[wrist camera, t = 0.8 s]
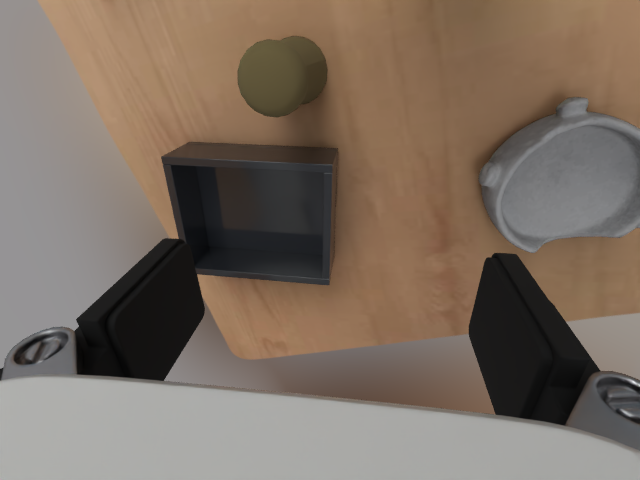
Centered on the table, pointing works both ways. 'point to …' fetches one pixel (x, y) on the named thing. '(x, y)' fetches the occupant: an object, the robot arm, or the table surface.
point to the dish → (565, 178)
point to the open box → (256, 209)
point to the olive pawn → (281, 75)
